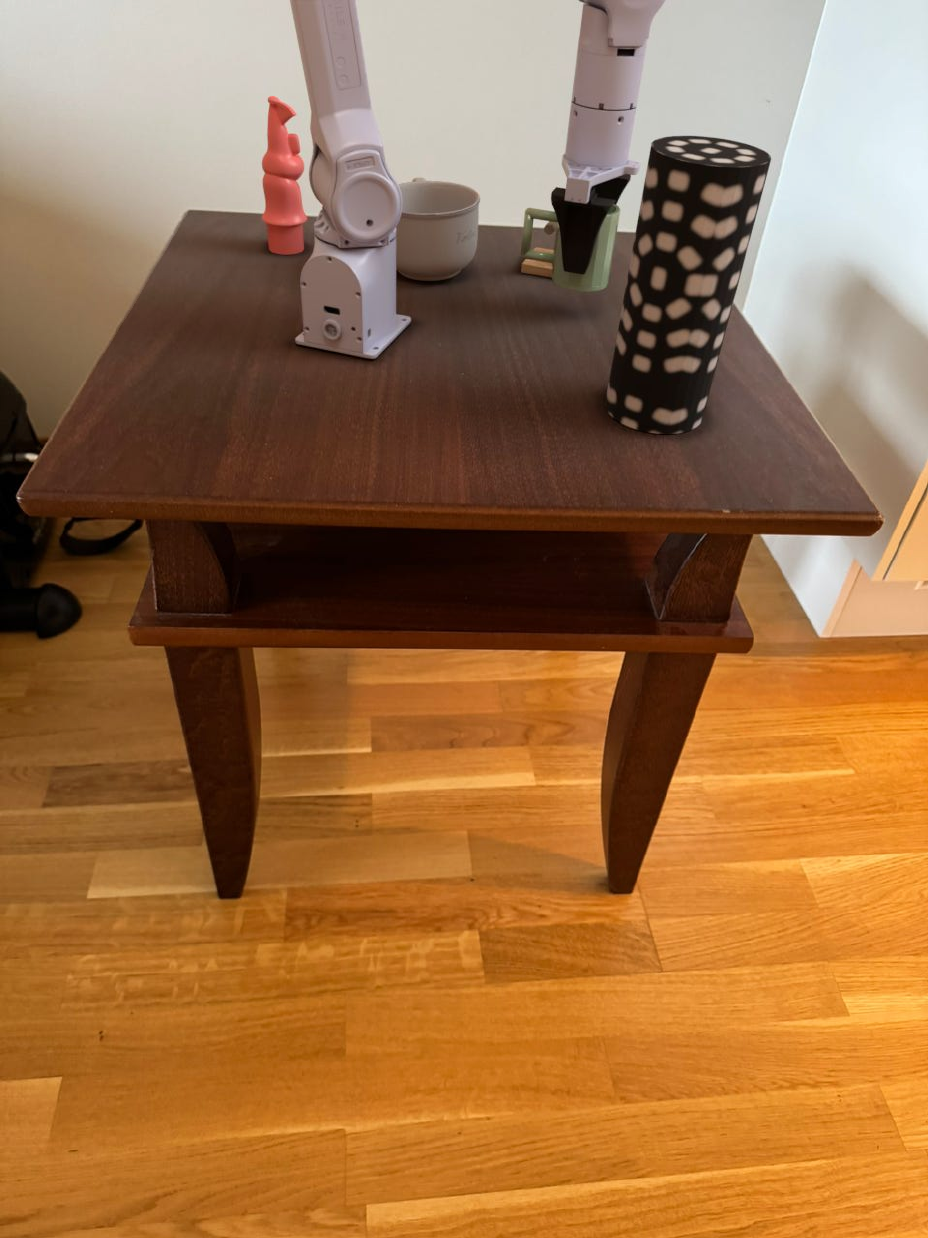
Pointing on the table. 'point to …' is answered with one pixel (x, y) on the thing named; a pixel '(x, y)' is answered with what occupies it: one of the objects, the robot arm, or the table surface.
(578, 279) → the mug
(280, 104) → the figurine
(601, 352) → the table surface
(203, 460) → the table surface
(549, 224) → the mug stand
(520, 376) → the table surface
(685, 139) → the spotted tube
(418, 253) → the teacup
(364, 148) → the robot arm
